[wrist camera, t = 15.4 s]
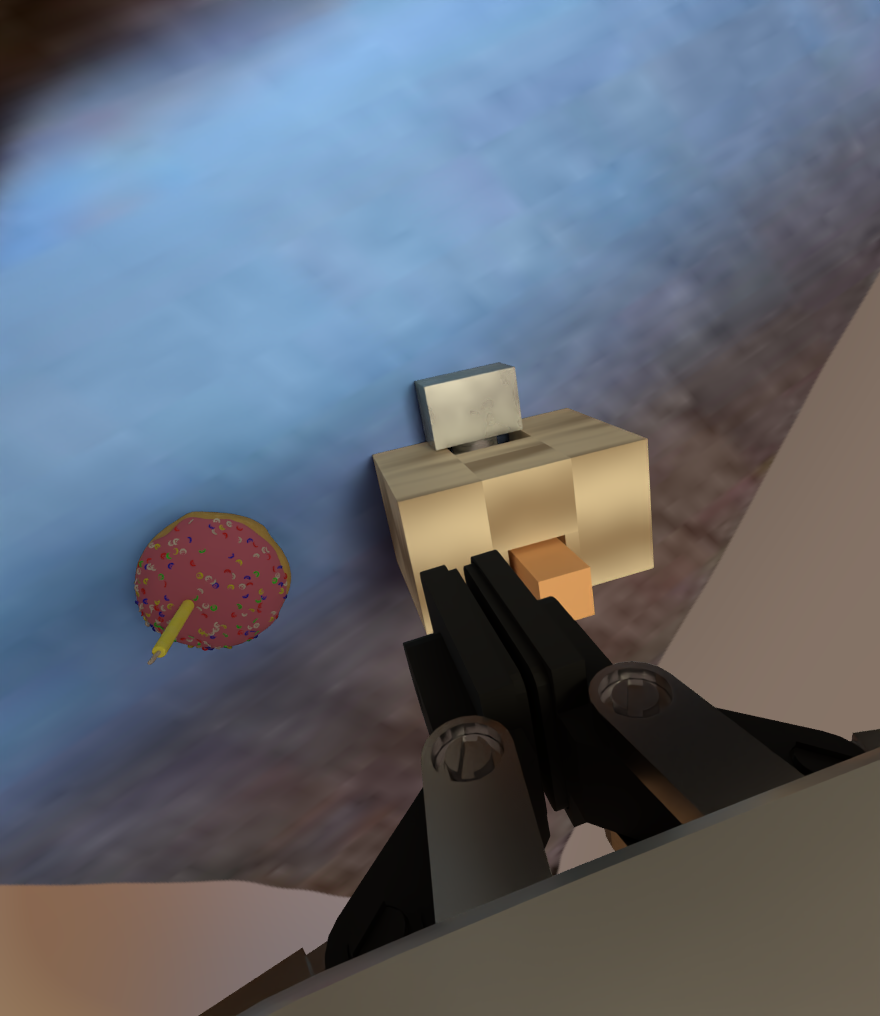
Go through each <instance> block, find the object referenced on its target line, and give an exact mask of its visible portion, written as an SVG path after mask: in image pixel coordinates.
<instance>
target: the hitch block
mask: <svg viewBox="0 0 880 1016" xmlns="http://www.w3.org/2000/svg"><path fill="white" fill-rule="evenodd" d="M521 420H522V428H523V429H522V430H518V431H514V432H510V433H509V441H510V442H507V443H503V444H498V445H494V446H490V447H486V448H482V449H478V450H474V451H470V452H466V453H462V454H458V455H454V454H453V453H452V452H451V451H449V450H448V449H447V448H444V449H440V450H435V449H434V448H433V447H432V446H431V445H430V444H429V443H428V442H424V443H419V444H415V445H411V446H407V447H403V448H399V449H394V450H390V451H386V452H382V453H378V454H374V455H372V456H373V460H374V464H375V469H376V473H377V477H378V482H379V486H380V490H381V495H382V499H383V503H384V507H385V512H386V516H387V520H388V525H389V529H390V533H391V538H392V542H393V546H394V551H395V555H396V559H397V563H398V565H399V567H400V570H401V572H402V575H403V577H404V580H405V582H406V584H407V587H408V589H409V592H410V594H411V597H412V599H413V601H414V604H415V606H416V609H417V611H418V614H419V616H420V618H421V621H422V623H423V626H424V628H425V631H426V633H427V634H430V633H433V629H432V625H431V621H430V617H429V612H428V608H427V604H426V600H425V596H424V592H423V587H422V583H421V579H420V572H422V571H425V570H428V569H432V568H435V567H438V566H442V565H445V566H446V567H447V569H448V570H452V569H455V568H457V570H458V571H459V573H460V575H461V576H462V578H463V579H464V581H465V576H464V570H463V567H464V566H465V565H469V564H471V557H472V556H475V555H478V554H482V553H485V552H488V551H492V550H497V551H498V552H499V553H500V554H501V555H502V557H503V558H504V559H505V560H506V562H507V563H508V564H509V565H510V563H509V556H508V550H512V549H515V548H519V547H523V546H526V545H530V544H533V543H537V542H541V541H544V540H548V539H551V538H555V537H557V538H558V539H559V540H560V541H561V542H562V543H564V544H565V545H566V546H567V547H568V548H569V549H570V550H571V551H573V552H574V553H575V554H576V555H577V556H578V557H579V558H581V559H582V560H583V561H584V562H585V563H586V564H587V565H588V566H590V570H591V581H592V586H594V585H597V584H600V583H604V582H607V581H611V580H614V579H617V578H621V577H624V576H628V575H631V574H634V573H638V572H641V571H645V570H648V569H651V568H654V565H653V544H652V523H651V503H650V482H649V461H648V441H647V438H644V437H642V436H639V435H636V434H634V433H631V432H629V431H626V430H623V429H621V428H618V427H616V426H613V425H610V424H608V423H605V422H603V421H600V420H597V419H595V418H592V417H589V416H587V415H584V414H582V413H579V412H576V411H574V410H571V409H569V408H565V409H561V410H557V411H553V412H549V413H544V414H540V415H536V416H532V417H528V418H524V419H521ZM465 583H466V581H465Z"/></svg>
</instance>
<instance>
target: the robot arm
mask: <svg viewBox="0 0 880 1016" xmlns="http://www.w3.org/2000/svg"><path fill="white" fill-rule="evenodd" d="M463 570H464V576H465V581H466V583H465V581H464V579H463V578H462V576H461V575H460V573H459V571H458V570H457V568H455V569H452V570H448V569H447V567H446V566H445V565H442V566H438V567H435V568H432V569H428V570H425V571H422V572H420V579H421V583H422V587H423V592H424V596H425V600H426V604H427V608H428V612H429V617H430V621H431V625H432V629H433V634H429V635H426V636H423V637H420V638H417V639H414V640H411V641H407V642H404V643H403V646H404V650H405V654H406V658H407V661H408V665H409V669H410V673H411V676H412V680H413V683H414V687H415V690H416V694H417V697H418V700H419V704H420V707H421V710H422V713H423V716H424V720H425V723H426V726H427V729H428V732H429V735H430V736H429V737H428V738H427V740H426V742H425V744H424V746H423V749H422V755H421V768H422V779H423V788H422V790H421V791H420V793H419V794H418V796H417V797H416V799H415V800H414V802H413V803H412V805H411V806H410V808H409V809H408V811H407V813H406V814H405V816H404V817H403V819H402V820H401V822H400V823H399V825H398V826H397V828H396V829H395V831H394V832H393V834H392V835H391V837H390V839H389V840H388V842H387V843H386V845H385V846H384V848H383V849H382V851H381V852H380V854H379V855H378V857H377V858H376V860H375V861H374V863H373V865H372V866H371V868H370V869H369V871H368V872H367V874H366V875H365V877H364V878H363V880H362V881H361V883H360V884H359V886H358V888H357V889H356V891H355V892H354V894H353V895H352V897H351V898H350V900H349V901H348V903H347V904H346V906H345V907H344V909H343V910H342V912H341V914H340V915H339V917H338V918H337V920H336V922H335V924H334V926H333V928H332V930H331V932H330V934H329V937H328V941H327V942H325V943H324V944H322V945H321V946H319V947H318V948H316V949H315V950H313V951H312V952H310V953H309V954H307V955H306V954H305V952H304V950H303V948H301V949H300V950H298V951H297V952H295V953H294V954H292V955H291V956H289V957H287V958H286V959H284V960H283V961H281V962H280V963H278V964H277V965H275V966H274V967H272V968H271V969H269V970H268V971H266V972H265V973H263V974H261V975H260V976H259V977H257V978H255V979H254V980H252V981H251V982H249V983H248V984H246V985H245V986H243V987H242V988H240V989H239V990H237V991H235V992H234V993H232V994H231V995H229V996H228V997H226V998H225V999H223V1000H222V1001H220V1002H219V1003H217V1004H216V1005H214V1006H213V1007H211V1008H209V1009H208V1010H206V1011H205V1012H203V1013H202V1014H200V1015H199V1016H880V729H877V730H869V731H862V732H856V733H853V735H852V741H848V740H846V739H844V738H842V737H840V736H837V735H834V734H830V733H827V732H824V731H820V730H815V729H811V728H807V727H802V726H797V725H793V724H788V723H783V722H779V721H775V720H770V719H765V718H760V717H756V716H751V715H747V714H743V713H738V712H733V711H729V710H724V709H720V708H715V707H714V706H712V705H711V704H710V703H709V702H707V701H706V700H705V699H703V698H702V697H701V696H699V695H698V694H697V693H695V692H694V691H693V690H692V689H690V688H689V687H688V686H686V685H685V684H684V683H682V682H681V681H680V680H678V679H677V678H676V677H675V676H673V675H672V674H671V673H669V672H667V671H666V670H664V669H662V668H660V667H658V666H655V665H652V664H648V663H644V662H633V661H630V662H621V663H616V664H612V663H611V662H610V661H609V659H608V658H607V657H606V656H605V655H604V654H603V652H602V651H601V650H600V649H599V648H598V647H597V645H596V644H595V643H594V642H593V641H592V640H591V638H590V637H589V636H588V635H587V634H586V633H585V632H584V630H583V629H582V628H581V627H580V626H579V625H578V623H577V622H576V621H575V620H574V619H573V618H572V616H571V615H570V614H569V613H568V612H567V611H566V609H565V608H564V607H563V606H562V605H561V604H560V603H559V601H558V600H557V599H556V598H554V597H553V596H549V597H546V598H543V599H539V600H537V599H536V598H535V597H534V596H533V594H532V593H531V592H530V591H529V589H528V588H527V587H526V586H525V584H524V583H523V582H522V581H521V579H520V578H519V577H518V575H517V574H516V573H515V572H514V570H513V569H512V568H511V567H510V565H509V564H508V563H507V562H506V560H505V559H504V558H503V557H502V555H501V554H500V553H499V552H498V551H497V550H492V551H488V552H485V553H482V554H478V555H475V556H472V557H471V564H469V565H465V566H464V567H463ZM544 793H545V794H546V796H547V798H548V800H549V802H550V804H551V806H552V808H553V809H554V811H559V810H562V809H565V811H566V813H567V815H568V817H569V819H570V820H571V822H572V824H573V826H574V827H576V826H579V825H581V824H584V823H586V822H587V823H590V824H593V825H596V826H599V827H602V828H604V829H605V833H606V837H607V839H608V841H609V843H610V844H611V846H612V848H613V849H614V850H615V852H612V853H610V854H607V855H605V856H602V857H600V858H597V859H595V860H593V861H590V862H587V863H585V864H582V865H580V866H577V867H575V868H572V869H570V870H567V871H565V872H562V873H560V874H557V875H555V876H552V874H551V870H550V867H549V863H548V860H547V856H546V853H545V847H546V845H547V842H548V840H549V837H550V831H549V826H548V820H547V808H546V802H545V796H544Z"/></svg>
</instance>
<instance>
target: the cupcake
mask: <svg viewBox="0 0 880 1016" xmlns="http://www.w3.org/2000/svg"><path fill="white" fill-rule="evenodd" d="M290 583H291V572H290V566H289V563H288V561H287V559H286V557H285V555H284V553H283V551H282V550H281V548H280V547H279V546H278V544H277V543H276V542H275V541H274V540H273V538H272V537H271V536H270V534H269V533H268V531H267V529H266V528H265V527H264V526H263V525H261V524H260V523H258V522H256V521H254V520H252V519H250V518H247V517H244V516H240V515H235V514H228V513H218V512H191V513H188V514H186V515H184V516H183V517H181V518H180V519H178V520H177V521H175V522H173V523H172V524H170V525H169V526H167V527H166V528H165V529H163V530H162V531H161V532H160V533H159V534H157V535H156V536H155V537H154V538H153V539H152V540H151V542H150V543H149V544H148V545H147V547H146V548H145V550H144V552H143V553H142V555H141V557H140V559H139V562H138V565H137V569H136V576H135V582H134V584H135V587H134V589H135V592H136V597H137V601H135V603H136V604H137V605H138V606H139V612H140V611H141V613H142V615H141V616H143V618H144V620H145V621H146V622H145V625H146V626H147V627H149V626H151V627H153V628H152V629H153V631H156V632H158V633H161V637H160V638H159V640H158V641H157V643H156V645H155V646H154V648H153V650H152V653H153V656H152V658H151V659H150V660H149V661H148V664H149V665H150V664H152V663H153V662H154V661H155V660H156V658H157V657H158V658H161V657H164V656H165V655H166V653H167V652H168V650H169V648H170V647H171V645H172V643H173V642H176V641H177V642H179V643H183V644H187V645H188V647H189V648H192V647H194V646H196V647H197V648H201V647H202V649H203V650H204V651H206V650H213V649H214V648H216V649H219V648H223V647H224V648H228V649H231V648H232V646H234V645H238V644H241V643H243V642H245V641H250V640H251V639H254V638H257V637H258V634H259V633H261V632H262V631H264V630H265V629H266V628H268V627H269V626H270V625H271V624H272V623H273V622H274V621H275V619H277V618H278V615H279V611H280V609H281V607H282V605H283V603H284V601H285V599H286V598H287V594H288V591H289V588H290ZM147 622H148V623H149V624H148V623H147ZM147 624H148V625H147ZM154 628H155V629H154ZM256 635H257V636H256ZM255 636H256V637H255ZM190 646H191V647H190ZM229 646H230V648H229ZM204 647H205V648H206V649H204ZM210 648H211V649H210Z"/></svg>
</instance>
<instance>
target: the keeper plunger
mask: <svg viewBox="0 0 880 1016" xmlns="http://www.w3.org/2000/svg"><path fill="white" fill-rule="evenodd" d="M508 556H509V563H510V567H511V568H512V569H513V570H514V572H515V573H516V574H517V575H518V577H519V578H520V579H521V581H522V582H523V583H524V584H525V586H526V587H527V588H528V589H529V591H530V592H531V593H532V594H533V596H534V597H535V598H536V599H537V600H539V599H543V598H546V597H549V596H553V597H554V598H556V599H557V600H558V601H559V603H560V604H561V605H562V606H563V607H564V608H565V609H566V611H567V612H568V613H569V614H570V615H571V616H572V618H573V619H574V620H578V619H581V618H584V617H588V616H591V615H594V614H595V613H594V602H593V591H592V581H591V570H590V566H588V565H587V564H586V563H585V562H584V561H583V560H582V559H581V558H579V557H578V556H577V555H576V554H575V553H574V552H573V551H571V550H570V549H569V548H568V547H567V546H566V545H565V544H564V543H562V542H561V541H560V540H559V539H558V538H557V537H555V538H551V539H548V540H544V541H541V542H537V543H533V544H530V545H526V546H523V547H519V548H515V549H512V550H508Z"/></svg>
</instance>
